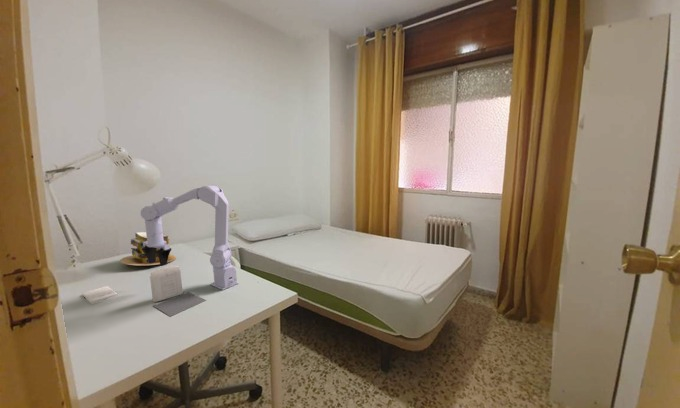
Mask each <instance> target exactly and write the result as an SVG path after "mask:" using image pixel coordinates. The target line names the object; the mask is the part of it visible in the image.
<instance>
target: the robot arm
mask: <svg viewBox="0 0 680 408" xmlns="http://www.w3.org/2000/svg"><path fill="white" fill-rule="evenodd" d="M194 199H195V200H200V201H202V202H204V203H206V204H209V205H210V206H212V208H214V209H215V211H214V212H215V216H214V217H215V218H214V219H215V221H214V222H215V223H214V246H213V249H212V254H211V256H210V258H209V262H210V265H211V266H212V269H213V270H212V271H213V282H211V283H210V286H212V287H214V288H217V289H220V290H222V291H224V290H226V289H228V288H231V287H232V286H235V285H238V284H239V283H240V282H239V281H238V280H237V279H238V278H237V270H236V269H235V267H233V265H232V263H231V258H232V256H233V252H232V250H231V245H230V243H229V215H230V214H229V213H230V203H229V201H228V199H227V197H226V195H225V194H224V190H223V189H222V188H221V187H220V186H218V185H217V184H210V185H203V186H201V187H197V188H193V189H191V190H189V191H187V192H185V193H183V194H181V195H179V196H176V197H171V196H170V197H168V196H165V197H162V199H161V200H160V201H157V202H156V201H155V202H152V205H151V204H150V205H146V206H144V207H143V208H141V210H140V217H141V218H142V219H143V220H144V224H145V232H146V235H147V241H145V242H143V246H145V248H142V251H143V252H144V253H145V255H146V256H147V258H148V261H149V263H154V262H156V254H157V255H158V257H159V261H160V264H159V265H160V266H161V267H165V266H166V265H167V266H168V262H167V260H168V256H169V254H170V253H171V251H172V247H170V244H166V241H164V239H163V234H164V233H163V232H164V231H163V223H162V220H163V219H162V217H163V216H165V215H167V214H168V213H171V212H173V211H176V210H177V209H178V207H179V206H180V205H181V204H184V203H186V202H189V201H191V200H194ZM157 248H159V249H160V250H157ZM156 250H157V251H156Z"/></svg>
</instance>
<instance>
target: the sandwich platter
mask: <svg viewBox="0 0 680 408" xmlns="http://www.w3.org/2000/svg"><path fill="white" fill-rule="evenodd" d="M134 234H135V237H134V238H131V239H130V245H132V246H133V247H134V248H133V247H131V255H128V256H125V257H122V258H120V259H119V263H121V264H123V265H128V266H129V265H130V266H155V265H160V261H159V257H158V255H157V254H156V262H154V263H149V261H148V258H147V256H146V255H145V253H144V252H143V251H142V248H145V246H143V242H145V241H147V235H146V231H140V232H139V231H138V232H135V233H134ZM163 239H164V241H166V244H169V242H170V241H169V240H170V239H169V235H168V234H166V233H163ZM169 245H170V244H169ZM135 247H136V248H135ZM157 250H160V249H159V248H157ZM157 250H156V251H157ZM176 259H177V257H176V256H175V255H173V254H170V253H169V256H168V260H167V263H171V262H174V261H175V260H176Z"/></svg>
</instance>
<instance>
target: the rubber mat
mask: <svg viewBox="0 0 680 408" xmlns="http://www.w3.org/2000/svg"><path fill="white" fill-rule="evenodd" d="M206 301H207V299H205V298H203V297H201V296H198V295H196V294H194V293H192V292H190V291H187V292H185V293H182V294H180V295H177V296H174V297H171V298H168V299H165V301H162V302H160V303H156V304H154V305H153V306H152V307H153V308H155V309H157V310H158V311H161V312H162V313H163V314H165V315H167V316H168V317H170V318H171V317H173V316H175V315H177V314H180V313H182V312H183V311H186V310H188V309H191V308H193V307H195V306H197V305H199V304H201V303H203V302H206Z"/></svg>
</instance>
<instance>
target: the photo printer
mask: <svg viewBox="0 0 680 408" xmlns="http://www.w3.org/2000/svg"><path fill="white" fill-rule="evenodd" d="M149 280H150V286H151V287H150V288H151V297H152V301H153V302H154V303H156V302H160V301H163V300H168V299H171V298H174V297H177V296H179V295H182V294H184V293H183V292H184V290H183V283H182V272H181V269H180V266H178V265H167V266H162V267H161V268H158V269H155V270H153V271H151V272H150V276H149Z"/></svg>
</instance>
